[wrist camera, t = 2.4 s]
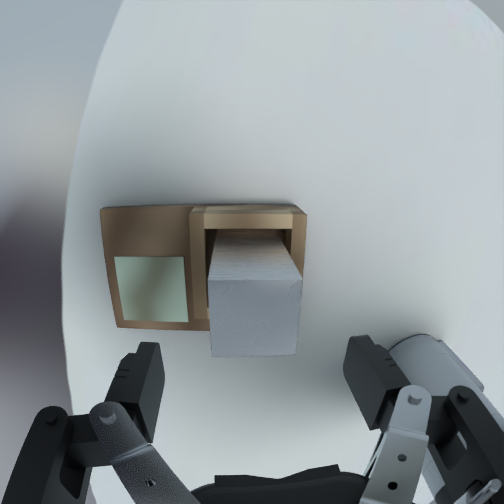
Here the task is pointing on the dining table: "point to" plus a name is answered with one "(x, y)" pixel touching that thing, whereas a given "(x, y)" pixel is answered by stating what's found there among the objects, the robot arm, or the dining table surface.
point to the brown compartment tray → (180, 257)
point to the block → (253, 295)
